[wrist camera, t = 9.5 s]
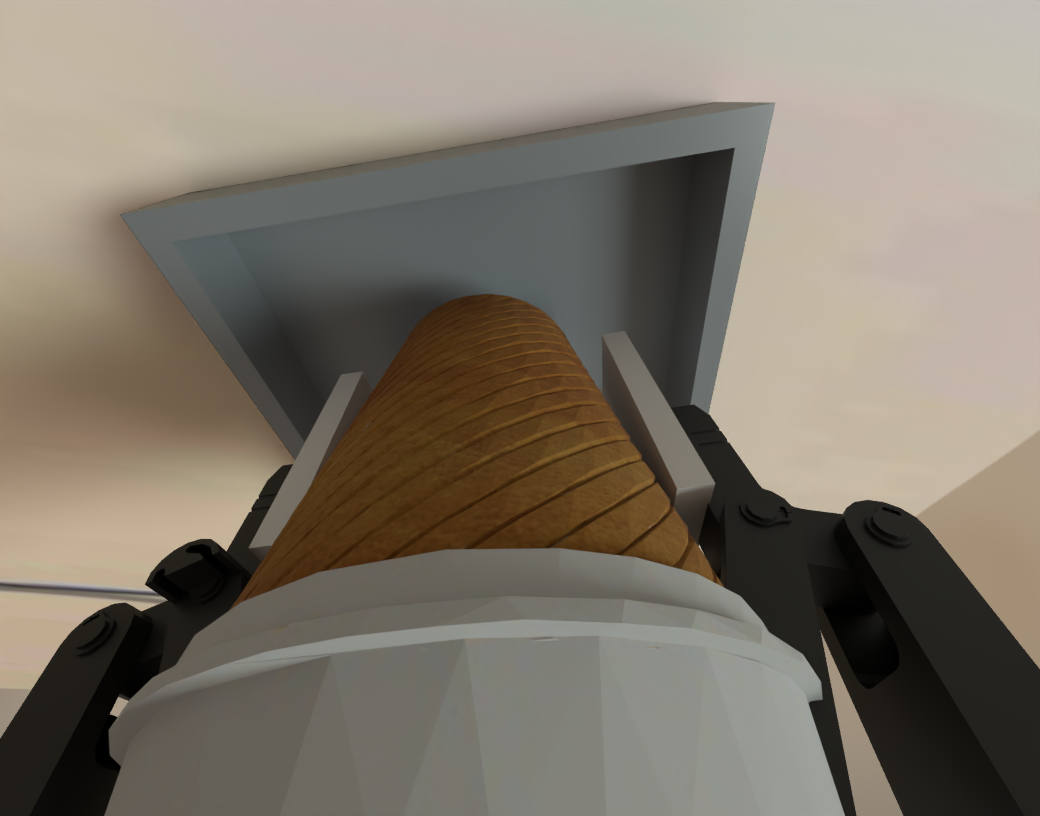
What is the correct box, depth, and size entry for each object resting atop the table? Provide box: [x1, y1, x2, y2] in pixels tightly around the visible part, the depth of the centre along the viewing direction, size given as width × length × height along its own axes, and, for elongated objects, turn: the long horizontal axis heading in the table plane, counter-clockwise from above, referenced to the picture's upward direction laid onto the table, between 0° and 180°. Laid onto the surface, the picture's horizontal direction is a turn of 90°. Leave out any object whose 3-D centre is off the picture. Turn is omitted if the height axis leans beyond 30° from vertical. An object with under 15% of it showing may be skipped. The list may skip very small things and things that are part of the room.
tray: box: [120, 102, 775, 460], centre depth 18 cm, size 22×17×3 cm
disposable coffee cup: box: [104, 294, 845, 816], centre depth 10 cm, size 10×10×12 cm
